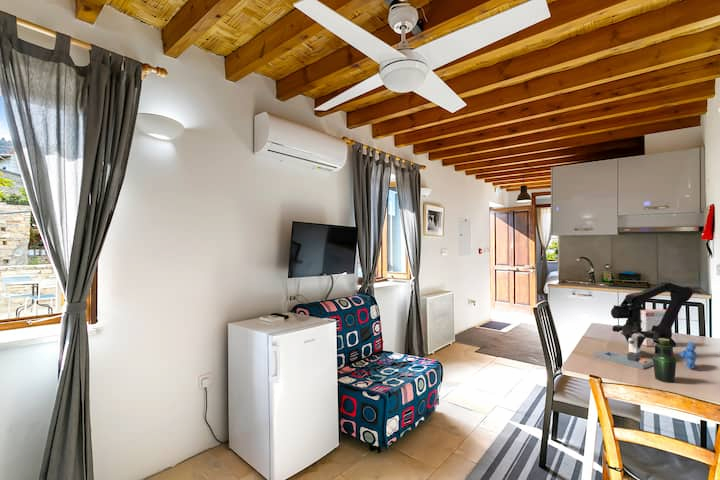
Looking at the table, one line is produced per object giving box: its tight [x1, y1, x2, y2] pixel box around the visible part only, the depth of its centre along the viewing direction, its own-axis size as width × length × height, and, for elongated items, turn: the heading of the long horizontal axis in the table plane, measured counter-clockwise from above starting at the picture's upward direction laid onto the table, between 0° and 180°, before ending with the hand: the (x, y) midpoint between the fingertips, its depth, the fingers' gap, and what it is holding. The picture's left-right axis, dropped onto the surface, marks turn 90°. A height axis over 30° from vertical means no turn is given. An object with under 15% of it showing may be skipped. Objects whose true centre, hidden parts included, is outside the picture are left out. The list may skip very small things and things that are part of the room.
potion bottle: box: [652, 338, 678, 383], centre depth 159 cm, size 8×8×18 cm
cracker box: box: [641, 308, 673, 348], centre depth 209 cm, size 14×6×21 cm, turn 84°
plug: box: [628, 336, 641, 354], centre depth 190 cm, size 4×6×7 cm, turn 119°
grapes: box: [678, 342, 699, 370], centre depth 174 cm, size 12×7×12 cm, turn 135°
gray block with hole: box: [593, 349, 654, 370], centre depth 184 cm, size 22×10×5 cm, turn 29°
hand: (634, 347), depth 190 cm, fingers closed on plug, 3 cm apart
